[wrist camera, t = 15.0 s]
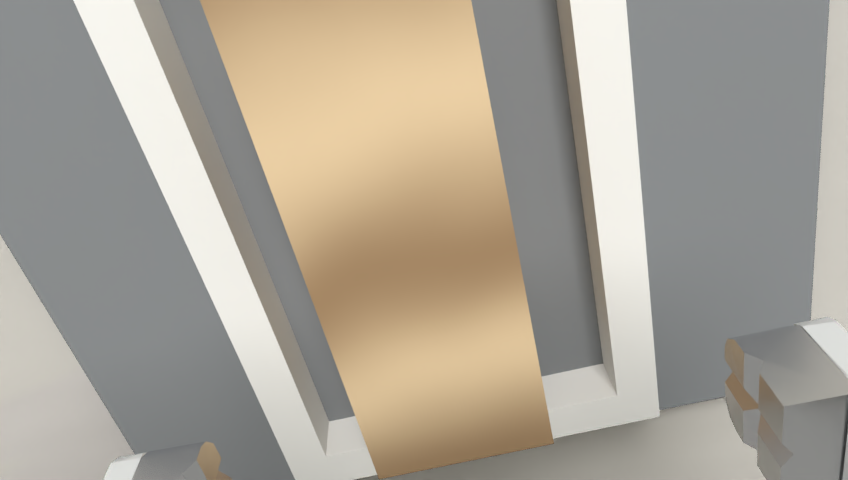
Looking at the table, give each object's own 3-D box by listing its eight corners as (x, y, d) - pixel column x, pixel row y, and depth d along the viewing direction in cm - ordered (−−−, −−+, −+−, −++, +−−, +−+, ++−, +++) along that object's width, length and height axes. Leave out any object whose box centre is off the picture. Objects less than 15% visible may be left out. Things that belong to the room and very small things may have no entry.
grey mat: (172, 501, 25) (157, 548, 23) (-234, -173, 14) (-314, -175, 13) (800, 371, 23) (832, 412, 21) (845, -478, 13) (913, -527, 11)
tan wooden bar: (245, -38, 16) (199, -1, 12) (439, -88, 15) (459, -67, 12) (379, 364, 22) (379, 479, 18) (522, 334, 21) (553, 443, 17)
